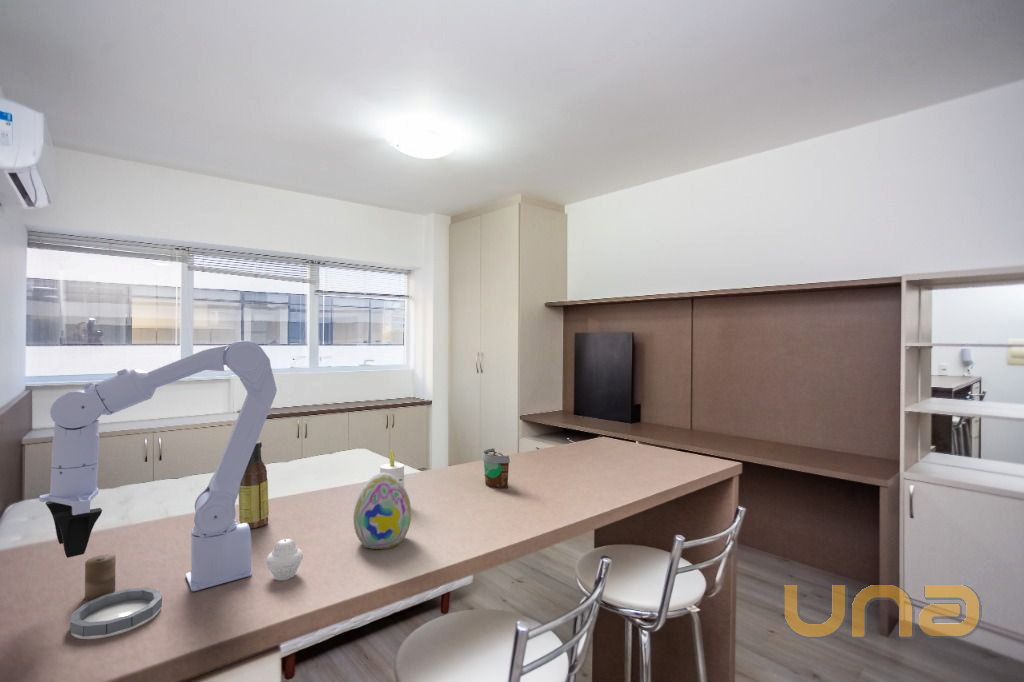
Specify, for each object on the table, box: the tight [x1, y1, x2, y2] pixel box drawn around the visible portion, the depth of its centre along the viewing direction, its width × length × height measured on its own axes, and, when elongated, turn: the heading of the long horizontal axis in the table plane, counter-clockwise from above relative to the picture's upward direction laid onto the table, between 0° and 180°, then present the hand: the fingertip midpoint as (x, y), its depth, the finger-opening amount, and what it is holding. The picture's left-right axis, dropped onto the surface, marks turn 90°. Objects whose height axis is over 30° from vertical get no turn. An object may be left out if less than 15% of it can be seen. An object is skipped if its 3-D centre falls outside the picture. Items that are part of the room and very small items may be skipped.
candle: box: [379, 448, 405, 487], centre depth 130 cm, size 6×6×15 cm
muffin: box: [266, 538, 304, 581], centre depth 90 cm, size 6×6×7 cm
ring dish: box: [69, 587, 163, 640], centre depth 76 cm, size 11×11×2 cm
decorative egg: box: [352, 472, 412, 550], centre depth 106 cm, size 12×12×15 cm
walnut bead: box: [84, 553, 117, 601], centre depth 84 cm, size 4×4×6 cm
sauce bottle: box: [238, 440, 270, 530], centre depth 116 cm, size 7×6×20 cm
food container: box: [481, 447, 511, 490], centre depth 149 cm, size 12×6×10 cm, turn 25°
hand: (71, 548), depth 79 cm, fingers open, 7 cm apart
